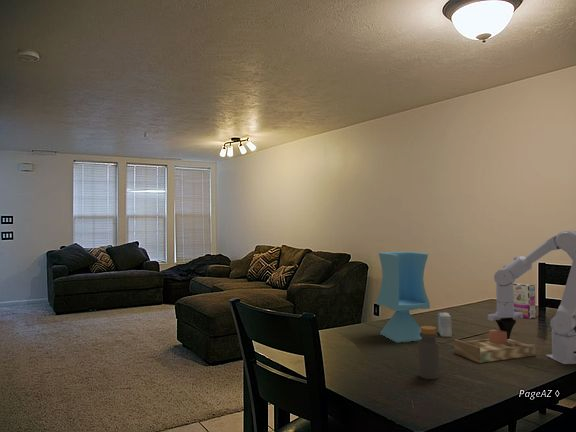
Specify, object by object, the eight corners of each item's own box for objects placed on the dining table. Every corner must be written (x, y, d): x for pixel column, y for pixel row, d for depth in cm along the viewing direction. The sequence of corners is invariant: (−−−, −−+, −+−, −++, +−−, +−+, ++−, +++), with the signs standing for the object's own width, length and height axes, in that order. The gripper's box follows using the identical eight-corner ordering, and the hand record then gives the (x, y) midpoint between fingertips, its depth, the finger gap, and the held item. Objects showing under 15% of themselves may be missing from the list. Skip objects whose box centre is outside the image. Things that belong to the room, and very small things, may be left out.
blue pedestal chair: (395, 343, 175) (393, 254, 176) (377, 334, 190) (375, 252, 191) (430, 340, 180) (428, 253, 180) (409, 331, 195) (408, 251, 195)
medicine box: (451, 337, 185) (451, 316, 185) (440, 336, 186) (440, 315, 186) (448, 332, 193) (448, 312, 193) (438, 332, 194) (437, 312, 194)
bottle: (423, 371, 142) (422, 324, 142) (441, 375, 138) (440, 327, 138) (416, 376, 137) (415, 327, 138) (434, 380, 134) (433, 330, 134)
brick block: (498, 340, 167) (498, 329, 167) (507, 343, 163) (506, 331, 163) (489, 341, 166) (489, 330, 166) (497, 344, 162) (497, 332, 162)
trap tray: (507, 346, 170) (507, 333, 170) (535, 355, 158) (534, 341, 158) (454, 353, 162) (454, 339, 162) (479, 362, 150) (478, 347, 150)
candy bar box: (536, 318, 219) (535, 284, 220) (529, 319, 217) (528, 285, 218) (516, 314, 229) (515, 282, 230) (509, 315, 227) (508, 282, 228)
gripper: (512, 298, 172) (512, 334, 172) (481, 301, 167) (482, 337, 167) (527, 301, 165) (527, 338, 165) (495, 304, 161) (496, 342, 160)
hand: (505, 338), depth 165 cm, fingers closed
